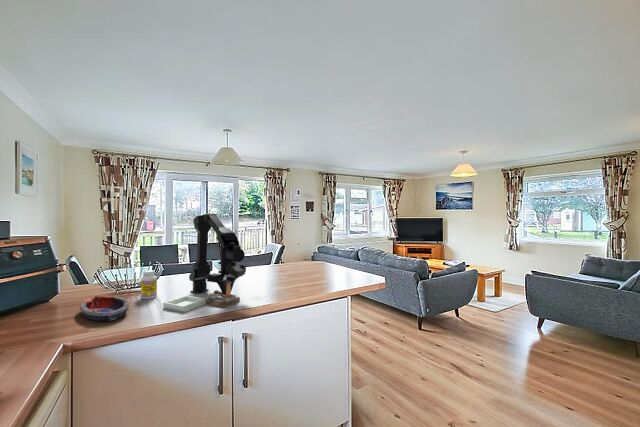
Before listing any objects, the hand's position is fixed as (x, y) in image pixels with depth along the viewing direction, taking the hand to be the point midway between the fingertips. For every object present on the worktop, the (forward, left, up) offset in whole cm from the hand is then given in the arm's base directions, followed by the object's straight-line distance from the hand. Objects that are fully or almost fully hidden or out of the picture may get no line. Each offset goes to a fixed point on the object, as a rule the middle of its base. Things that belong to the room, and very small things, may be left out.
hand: (227, 293), depth 133 cm
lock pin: (0, 0, -2) cm, 2 cm away
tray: (-14, -11, -4) cm, 18 cm away
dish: (-37, -31, -5) cm, 49 cm away
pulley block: (-4, 0, -4) cm, 6 cm away
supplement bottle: (-41, -9, -5) cm, 42 cm away
